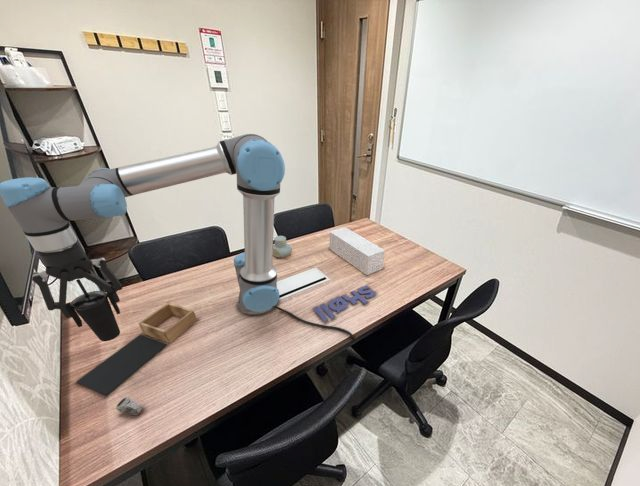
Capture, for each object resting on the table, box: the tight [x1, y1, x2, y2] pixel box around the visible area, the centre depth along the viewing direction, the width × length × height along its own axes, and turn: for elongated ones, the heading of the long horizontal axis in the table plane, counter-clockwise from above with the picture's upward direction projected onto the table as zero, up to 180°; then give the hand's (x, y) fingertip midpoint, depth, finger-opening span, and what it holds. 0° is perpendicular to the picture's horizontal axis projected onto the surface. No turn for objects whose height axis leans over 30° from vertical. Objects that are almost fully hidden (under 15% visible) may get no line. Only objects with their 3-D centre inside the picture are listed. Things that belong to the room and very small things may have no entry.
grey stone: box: [115, 396, 144, 416], centre depth 75 cm, size 4×6×5 cm, turn 85°
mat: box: [76, 334, 168, 397], centre depth 89 cm, size 12×20×1 cm, turn 161°
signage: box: [312, 285, 376, 323], centre depth 119 cm, size 28×1×10 cm
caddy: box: [138, 302, 198, 344], centre depth 102 cm, size 12×12×5 cm
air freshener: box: [273, 235, 293, 259], centre depth 147 cm, size 11×8×10 cm
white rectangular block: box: [329, 226, 386, 276], centre depth 148 cm, size 32×11×11 cm, turn 39°
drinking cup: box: [70, 279, 121, 342], centre depth 78 cm, size 8×8×20 cm
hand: (99, 317), depth 79 cm, fingers closed on drinking cup, 8 cm apart
